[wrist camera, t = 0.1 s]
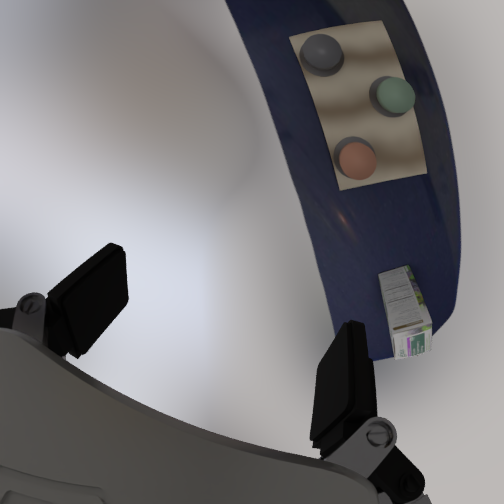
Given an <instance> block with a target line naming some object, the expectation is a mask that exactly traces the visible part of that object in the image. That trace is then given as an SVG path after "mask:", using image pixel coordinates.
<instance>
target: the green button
mask: <svg viewBox="0 0 504 504" xmlns="http://www.w3.org/2000/svg"><path fill="white" fill-rule="evenodd" d="M376 94H377V99H378V101H379V103H380V105H381V106H382V107H383V108H384V109H385V110H387V111H389V112H392V113H404V112H407V111H409V110H410V109H411V108H412V107H413V105H414V103H415V94H414V91H413V89H412V87H411V86H410V84H409V83H408V82H406V81H405V80H403V79H401V78H398V77H391V78H388V79H386V80H384V81H382V82H381V83H380V84H379V86H378V88H377V92H376Z"/></svg>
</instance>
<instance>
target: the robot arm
mask: <svg viewBox="0 0 504 504" xmlns="http://www.w3.org/2000/svg"><path fill="white" fill-rule="evenodd" d="M47 294H48V297H47V298H46V299H45V297H44V296H43V295H42V294H40V293H29V294H26V295H24V296H23V297H22V298H21V299H20V300H19V301H18V303H17V306H16V307H14V308H7V309H0V504H432V503H431V501H430V499H429V497H428V495H427V494H426V495H424V494H423V491H424V487H425V479H424V476H423V475H422V473H421V472H420V471H419V469H417V468H416V466H415V465H413V463H412V462H411V461H410V460H409V459H408V458H407V457H406V456H405V455H404V454H403V453H402V452H401V451H400V450H399V449H398V448H397V447H396V446H395V443H396V440H397V433H396V429H395V427H394V426H393V424H392V423H391V422H390V421H388V420H387V419H385V418H382V417H377V399H376V387H375V375H374V365H373V360H372V359H371V358H369V357H368V348H367V339H366V331H365V325H364V323H361V322H357V321H354V320H350V321H349V322H348V323H347V322H344V324H343V325H342V327H341V328H340V330H339V332H338V334H337V335H336V337H335V339H334V340H333V342H332V344H331V345H330V347H329V348H328V350H327V352H326V353H325V355H324V357H323V358H322V360H321V361H320V363H319V365H318V368H317V375H316V386H315V396H314V406H313V414H312V423H311V430H310V440H311V441H313V446H312V448H317V449H320V455H321V457H320V458H319V459H316V458H311V457H306V456H302V455H297V454H292V453H286V452H282V451H278V450H274V449H269V448H265V447H261V446H257V445H254V444H250V443H246V442H243V441H239V440H236V439H232V438H229V437H226V436H223V435H219V434H216V433H213V432H210V431H207V430H205V429H202V428H199V427H196V426H194V425H191V424H188V423H186V422H183V421H181V420H178V419H176V418H173V417H171V416H168V415H166V414H163V413H161V412H159V411H157V410H155V409H152V408H150V407H148V406H146V405H144V404H141V403H140V402H137V401H135V400H134V399H132V398H130V397H128V396H126V395H123V394H122V393H120V392H118V391H116V390H114V389H112V388H111V387H109V386H107V385H105V384H103V383H102V382H100V381H98V380H96V379H94V378H93V377H91V376H90V375H88V374H86V373H85V372H83V371H81V370H80V369H78V368H77V367H75V366H74V365H72V364H70V363H69V362H68V361H66V354H67V353H68V352H69V354H71V355H72V356H74V357H75V358H77V359H78V358H79V357H80V356H81V355H83V354H86V352H87V351H88V350H89V349H90V348H91V346H92V345H93V344H94V343H95V342H96V340H97V339H98V338H99V337H100V335H101V334H102V333H103V332H104V331H105V330H106V328H107V327H108V326H109V325H110V324H111V323H112V321H113V320H114V319H115V318H116V317H117V316H118V314H119V313H120V312H121V311H122V310H123V308H124V307H125V306H126V305H127V303H128V300H129V296H128V285H127V271H126V253H125V251H123V247H121V246H119V245H116V244H114V243H109V244H107V245H106V246H105V247H103V248H102V249H101V250H100V251H98V252H97V253H95V254H94V255H93V256H92V257H90V258H89V259H88V260H86V261H85V262H84V263H83V264H81V265H80V266H79V267H78V268H76V269H75V270H74V271H73V272H72V273H71V274H69V275H68V276H67V277H66V278H64V279H63V280H62V281H61V282H60V283H58V285H56V286H55V287H54V288H53V289H52V290H50V291H49V292H48V293H47Z"/></svg>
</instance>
